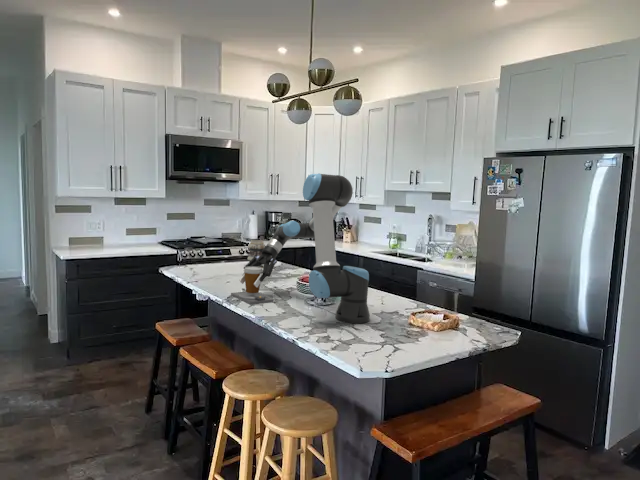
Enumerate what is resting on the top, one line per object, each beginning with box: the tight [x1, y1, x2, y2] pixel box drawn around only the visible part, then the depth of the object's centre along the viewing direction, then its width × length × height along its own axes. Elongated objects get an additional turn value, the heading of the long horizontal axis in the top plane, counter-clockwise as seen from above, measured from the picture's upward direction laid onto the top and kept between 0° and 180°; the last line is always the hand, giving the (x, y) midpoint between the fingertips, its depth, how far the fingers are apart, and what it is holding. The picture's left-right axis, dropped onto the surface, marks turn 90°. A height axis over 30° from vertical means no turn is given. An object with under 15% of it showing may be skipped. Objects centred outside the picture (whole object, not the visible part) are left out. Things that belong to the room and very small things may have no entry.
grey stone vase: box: [247, 239, 266, 269], centre depth 326 cm, size 12×12×18 cm
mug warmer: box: [230, 291, 275, 306], centre depth 239 cm, size 20×13×3 cm, turn 37°
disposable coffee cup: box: [243, 266, 263, 293], centre depth 239 cm, size 10×10×12 cm
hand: (248, 284), depth 236 cm, fingers closed on disposable coffee cup, 9 cm apart
